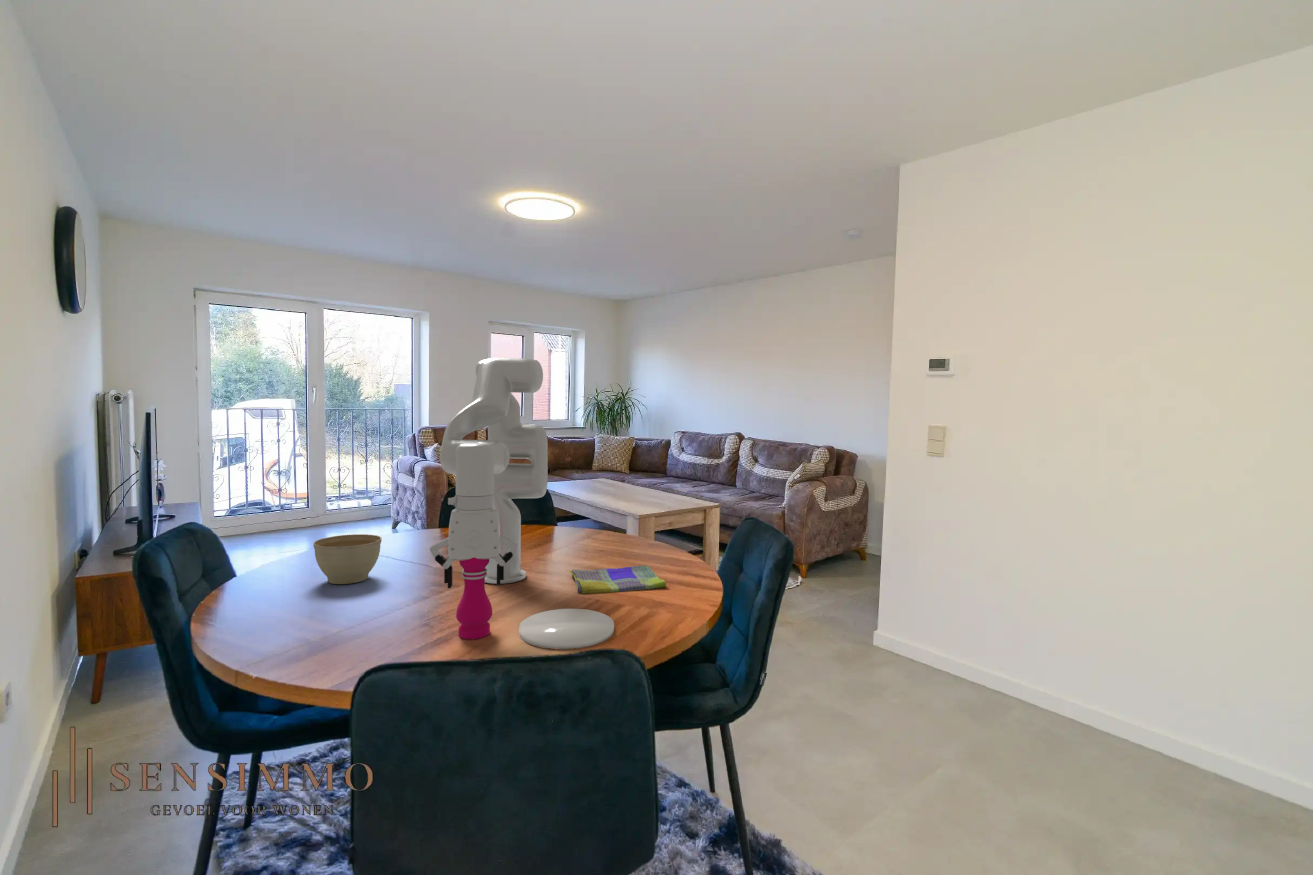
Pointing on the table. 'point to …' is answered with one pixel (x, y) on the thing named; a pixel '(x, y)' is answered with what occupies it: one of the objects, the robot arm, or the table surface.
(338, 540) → the planter bowl
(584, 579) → the dish towel
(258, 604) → the table surface
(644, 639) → the table surface
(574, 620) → the disc
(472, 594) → the pepper mill
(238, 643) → the table surface
